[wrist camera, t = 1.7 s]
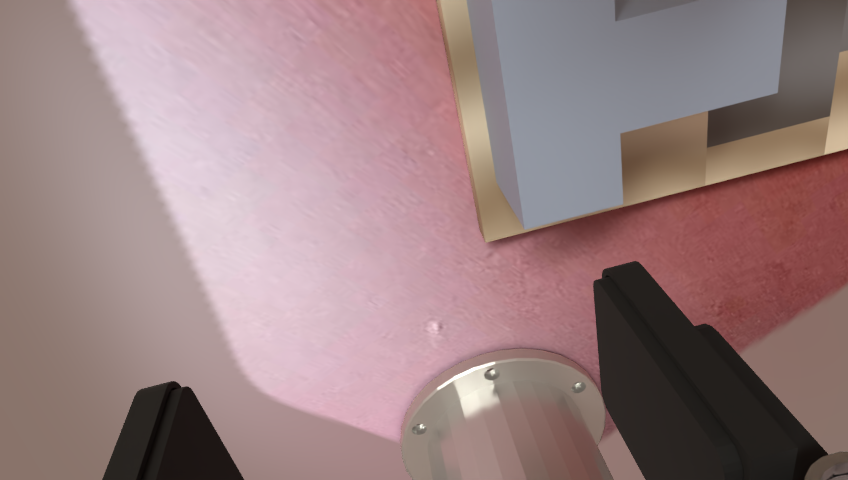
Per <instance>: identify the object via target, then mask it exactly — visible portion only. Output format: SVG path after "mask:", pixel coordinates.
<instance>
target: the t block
mask: <svg viewBox="0 0 848 480" xmlns="http://www.w3.org/2000/svg"><path fill="white" fill-rule="evenodd" d="M466 1H467V7H468V13H469V19H470V25H471V31H472V37H473V43H474V49H475V55H476V61H477V67H478V73H479V79H480V86H481V92H482V98H483V104H484V110H485V116H486V122H487V128H488V134H489V140H490V146H491V152H492V158H493V164H494V170H495V176H496V182H497V184H498V186H499V187H500V189H501V191H502V193H503V194H504V196H505V198H506V199H507V201H508V203H509V204H510V206H511V208H512V209H513V211H514V213H515V214H516V216H517V218H518V219H519V221H520V223H521V224H522V226H523V228H524V230H526V229H530V228H534V227H537V226H541V225H545V224H549V223H553V222H557V221H561V220H564V219H568V218H572V217H576V216H580V215H584V214H588V213H591V212H595V211H599V210H603V209H607V208H611V207H615V206H618V205H622V204H623V186H622V163H621V139H620V133H624V132H628V131H632V130H636V129H640V128H643V127H647V126H651V125H655V124H659V123H663V122H667V121H671V120H674V119H678V118H682V117H686V116H690V115H694V114H698V113H702V112H706V111H709V110H713V109H717V108H721V107H725V106H729V105H733V104H737V103H740V102H744V101H748V100H752V99H756V98H760V97H764V96H768V95H771V94H775V93H778V85H779V75H780V65H781V55H782V45H783V35H784V25H785V15H786V5H787V0H466Z"/></svg>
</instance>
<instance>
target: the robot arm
mask: <svg viewBox="0 0 848 480" xmlns="http://www.w3.org/2000/svg"><path fill="white" fill-rule="evenodd" d="M593 288H594V301H595V314H596V327H597V340H598V353H599V366H600V379H601V391H602V396H603V398H602V396H601V394H600V392H599V390H598V388H597V386H596V384H595V383H594V381H593V380H592V378H591V377H590V376H589V374H588V373H587V372H586V371H585V370H584V369H583V368H581V367H580V366H579V365H578V364H576V363H575V362H574V361H572V360H569V359H567V358H565V357H563V356H561V355H559V354H555V353H551V352H547V351H544V350H535V349H523V348H521V349H508V350H499V351H495V352H490V353H486V354H481V355H479V356H476V357H473V358H471V359H468V360H465V361H463V362H460V363H459V364H457V365H455V366H453V367H451V368H450V369H448V370H446V371H444V372H443V373H441V374H440V375H439V376H437V377H436V378H435V379H434V380H432V381H431V382H430V383H428V384H427V385H426V386H425V387H424V389H423V390H422V391H421V392H420V393H419V394H418V395H417V396H416V397H415V399H414V400H413V402H412V404H411V405H410V407H409V409H408V410H407V412H406V414H405V417H404V420H403V423H402V426H401V436H400V444H401V451H402V459H403V462H404V464H405V468H406V470H407V472H408V474H409V475H410V477H411V478H412V479H413V480H613V477H612V475H611V473H610V471H609V470H608V467H607V465H606V463H605V461H604V459H603V457H602V455H601V453H600V451H599V449H598V447H597V445H598V444H599V442H600V440H601V437H602V434H603V431H604V428H605V418H606V410H605V406H604V403H605V405H606V408H607V410H608V412H609V414H610V415H611V417H612V419H613V421H614V423H615V425H616V426H617V428H618V430H619V432H620V434H621V436H622V437H623V439H624V441H625V443H626V445H627V446H628V448H629V450H630V452H631V454H632V456H633V458H634V459H635V461H636V463H637V465H638V467H639V468H640V470H641V472H642V474H643V476H644V478H645V479H646V480H848V452H837V453H834V454H830V455H828V453H827V452H825V450H824V449H823V448H822V447H821V446H820V445H819V444H818V442H817V441H816V440H815V439H814V438H813V437H812V436H811V435H810V434H809V432H808V431H807V430H806V429H805V428H804V427H803V426H802V425H801V424H800V422H799V421H798V420H797V419H796V418H795V417H794V416H793V415H792V414H791V412H790V411H789V410H788V409H787V408H786V407H785V406H784V405H783V404H782V402H781V401H780V400H779V399H778V398H777V397H776V396H775V395H774V394H773V393H772V391H771V390H770V389H769V388H768V387H767V386H766V385H765V384H764V382H762V380H761V379H760V378H759V377H758V376H757V375H756V374H755V373H754V371H753V370H752V369H751V368H750V367H749V366H748V365H747V364H746V362H744V360H743V359H742V358H741V357H740V356H739V355H738V354H737V352H736V351H735V350H734V349H733V348H732V347H731V346H730V345H729V344H728V342H727V341H726V340H725V339H724V338H723V337H722V336H721V335H720V334H719V332H717V331H716V330H715V329H714V328H713V327H712V326H710V325H707V324H702V325H698V326H694V325H693V324H692V323H691V322H690V321H689V320H688V318H687V317H686V316H685V315H684V314H683V313H682V311H681V310H680V309H679V308H678V307H677V306H676V304H675V303H674V302H673V301H672V300H671V299H670V297H669V296H668V295H667V294H666V293H665V292H664V290H663V289H662V288H661V287H660V286H659V285H658V283H657V282H656V281H655V280H654V279H653V278H652V276H651V275H650V274H649V273H648V272H647V271H646V269H645V268H644V267H643V266H642V265H641V264H640V263H639V262H637V261H634V262H630V263H626V264H622V265H618V266H614V267H611V268H607V269H604V270H603V273H602V279H598V280H595V281H594V284H593ZM603 399H604V401H603ZM102 480H244V479H243V477H242V476H241V473H240V472H239V470H238V468H237V467H236V465H235V463H234V461H233V460H232V458H231V456H230V454H229V453H228V451H227V449H226V448H225V446H224V444H223V442H222V441H221V439H220V437H219V436H218V434H217V432H216V430H215V429H214V427H213V425H212V423H211V422H210V420H209V418H208V416H207V415H206V413H205V411H204V410H203V408H202V406H201V405H200V403H199V401H198V399H197V398H196V396H195V394H194V393H193V391H192V389H191V388H189V387H181V386H180V385H179V384H178V383H177V382H174V381H173V382H172V381H171V382H167V383H163V384H160V385H156V386H152V387H148V388H144V389H141V390H139V391H138V392H137V393H136V395H135V397H134V399H133V402H132V405H131V407H130V410H129V413H128V415H127V418H126V420H125V423H124V425H123V428H122V430H121V433H120V436H119V438H118V441H117V443H116V446H115V448H114V451H113V454H112V456H111V459H110V461H109V464H108V466H107V469H106V472H105V474H104V477H103V479H102Z"/></svg>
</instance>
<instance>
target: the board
mask: <svg viewBox="0 0 848 480" xmlns="http://www.w3.org/2000/svg"><path fill="white" fill-rule="evenodd" d="M436 2H437V7H438V12H439V18H440V23H441V28H442V33H443V39H444V44H445V49H446V54H447V60H448V65H449V70H450V75H451V81H452V86H453V91H454V96H455V102H456V107H457V112H458V117H459V123H460V128H461V133H462V138H463V144H464V149H465V154H466V159H467V165H468V170H469V175H470V180H471V186H472V191H473V196H474V201H475V207H476V212H477V217H478V222H479V228H480V232H481V234H482V236H483V238H484V240H485V242H490V241H494V240H498V239H502V238H506V237H509V236H513V235H517V234H521V233H525V232H529V231H533V230H536V229H540V228H544V227H548V226H552V225H556V224H560V223H563V222H567V221H571V220H575V219H579V218H583V217H587V216H590V215H594V214H598V213H602V212H606V211H610V210H613V209H617V208H621V207H625V206H629V205H633V204H637V203H640V202H644V201H648V200H652V199H656V198H660V197H664V196H667V195H671V194H675V193H679V192H683V191H687V190H691V189H694V188H698V187H702V186H706V185H710V184H714V183H718V182H721V181H725V180H729V179H733V178H737V177H741V176H745V175H748V174H752V173H756V172H760V171H764V170H768V169H772V168H775V167H779V166H783V165H787V164H791V163H795V162H799V161H802V160H806V159H810V158H814V157H818V156H822V155H826V154H829V153H833V152H837V151H841V150H845V149H848V0H787V5H786V15H785V25H784V35H783V45H782V55H781V65H780V75H779V85H778V93H775V94H771V95H768V96H764V97H760V98H756V99H752V100H748V101H744V102H740V103H737V104H733V105H729V106H725V107H721V108H717V109H713V110H709V111H706V112H702V113H698V114H694V115H690V116H686V117H682V118H678V119H674V120H671V121H667V122H663V123H659V124H655V125H651V126H647V127H643V128H640V129H636V130H632V131H628V132H624V133H620V139H621V163H622V186H623V204H622V205H618V206H615V207H611V208H607V209H603V210H599V211H595V212H591V213H588V214H584V215H580V216H576V217H572V218H568V219H564V220H561V221H557V222H553V223H549V224H545V225H541V226H537V227H534V228H530V229H526V230H524V228H523V226H522V224H521V223H520V221H519V219H518V218H517V216H516V214H515V213H514V211H513V209H512V208H511V206H510V204H509V203H508V201H507V199H506V198H505V196H504V194H503V193H502V191H501V189H500V187H499V186H498V184H497V182H496V176H495V170H494V164H493V158H492V152H491V146H490V140H489V134H488V128H487V122H486V116H485V110H484V104H483V98H482V92H481V86H480V79H479V73H478V67H477V61H476V55H475V49H474V43H473V37H472V31H471V25H470V19H469V13H468V7H467V1H466V0H436Z"/></svg>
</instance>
